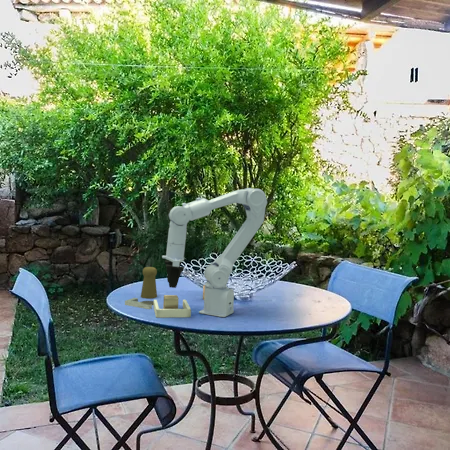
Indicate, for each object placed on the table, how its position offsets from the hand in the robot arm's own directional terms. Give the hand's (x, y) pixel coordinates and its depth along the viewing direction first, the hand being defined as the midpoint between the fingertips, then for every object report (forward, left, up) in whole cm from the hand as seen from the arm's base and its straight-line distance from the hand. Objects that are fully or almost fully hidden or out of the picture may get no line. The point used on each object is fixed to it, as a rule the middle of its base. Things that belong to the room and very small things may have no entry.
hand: (171, 284), depth 162 cm
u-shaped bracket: (+1, -2, -10) cm, 10 cm away
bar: (+14, -3, -10) cm, 17 cm away
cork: (+19, -15, -10) cm, 26 cm away
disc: (+13, -7, -10) cm, 18 cm away
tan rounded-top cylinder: (-1, -25, -10) cm, 27 cm away
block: (+3, -4, -10) cm, 11 cm away
